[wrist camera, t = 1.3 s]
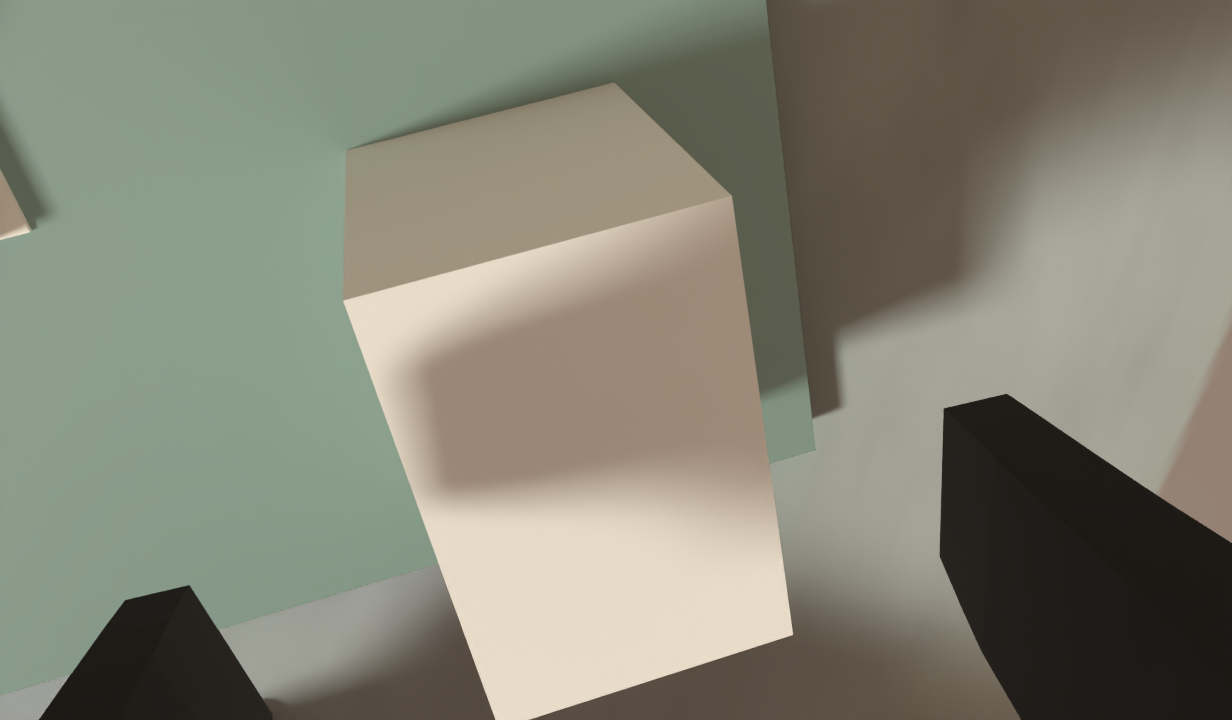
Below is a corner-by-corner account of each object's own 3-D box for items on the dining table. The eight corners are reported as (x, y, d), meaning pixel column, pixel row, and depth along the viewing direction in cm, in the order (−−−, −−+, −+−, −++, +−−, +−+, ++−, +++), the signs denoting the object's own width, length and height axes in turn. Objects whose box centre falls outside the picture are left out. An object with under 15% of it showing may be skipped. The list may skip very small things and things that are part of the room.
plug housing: (680, 428, 20) (792, 634, 15) (460, 492, 20) (498, 729, 14) (614, 82, 17) (731, 195, 12) (346, 149, 16) (343, 301, 11)
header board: (797, 425, 22) (911, 577, 18) (-154, 708, 20) (-302, 964, 15) (662, -705, 13) (822, -980, 9) (-1082, -411, 11) (-2066, -577, 7)
